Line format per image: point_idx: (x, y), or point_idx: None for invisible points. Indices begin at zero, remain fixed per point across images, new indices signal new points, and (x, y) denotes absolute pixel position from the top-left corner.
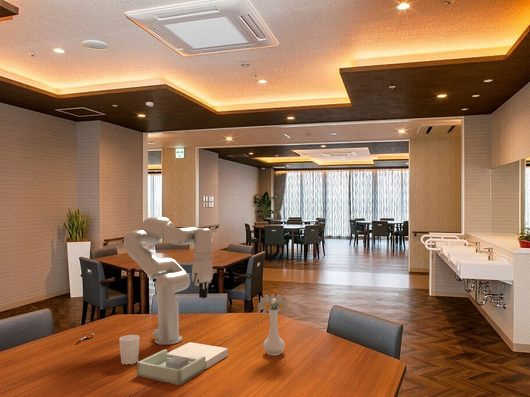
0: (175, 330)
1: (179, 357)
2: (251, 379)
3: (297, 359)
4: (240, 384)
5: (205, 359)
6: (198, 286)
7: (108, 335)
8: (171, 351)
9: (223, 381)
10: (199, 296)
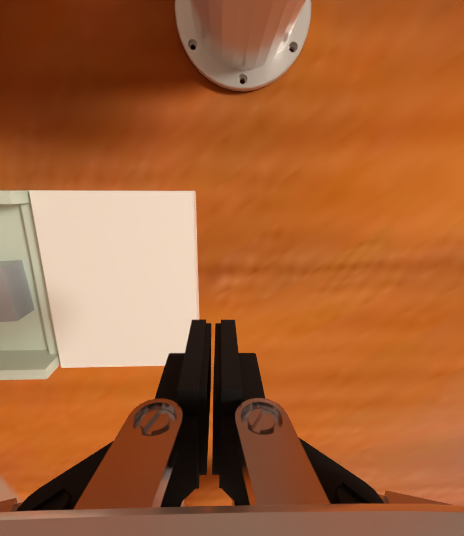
0: (240, 47)
1: (6, 286)
2: None
3: None
4: (46, 471)
5: (52, 372)
6: (72, 483)
7: None
8: (61, 195)
9: (34, 432)
10: (191, 326)
